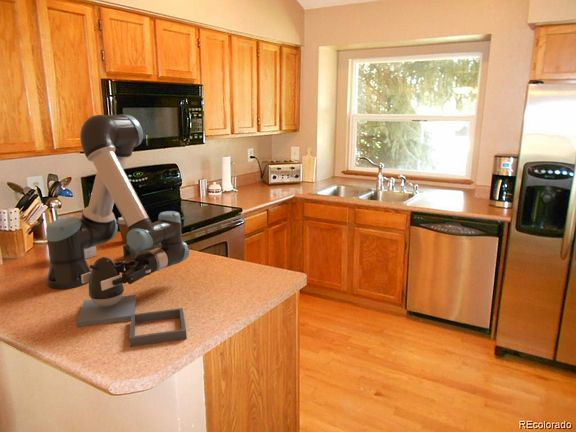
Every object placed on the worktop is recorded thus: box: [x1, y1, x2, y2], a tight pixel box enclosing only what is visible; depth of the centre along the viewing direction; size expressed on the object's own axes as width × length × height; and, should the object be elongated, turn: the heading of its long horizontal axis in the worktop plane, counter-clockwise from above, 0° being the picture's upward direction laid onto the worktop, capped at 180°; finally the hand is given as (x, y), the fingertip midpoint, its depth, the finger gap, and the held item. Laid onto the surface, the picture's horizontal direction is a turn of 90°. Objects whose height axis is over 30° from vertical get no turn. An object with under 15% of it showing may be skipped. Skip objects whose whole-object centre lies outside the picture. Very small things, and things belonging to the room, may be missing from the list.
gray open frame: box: [128, 307, 187, 348], centre depth 127 cm, size 15×15×2 cm
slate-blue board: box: [76, 294, 137, 328], centre depth 138 cm, size 16×16×2 cm
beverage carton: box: [122, 243, 161, 260], centre depth 189 cm, size 8×19×7 cm, turn 70°
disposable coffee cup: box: [116, 216, 129, 244], centre depth 212 cm, size 10×10×12 cm
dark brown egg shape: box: [88, 256, 125, 307], centre depth 136 cm, size 10×10×15 cm
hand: (91, 282), depth 132 cm, fingers closed on dark brown egg shape, 9 cm apart
